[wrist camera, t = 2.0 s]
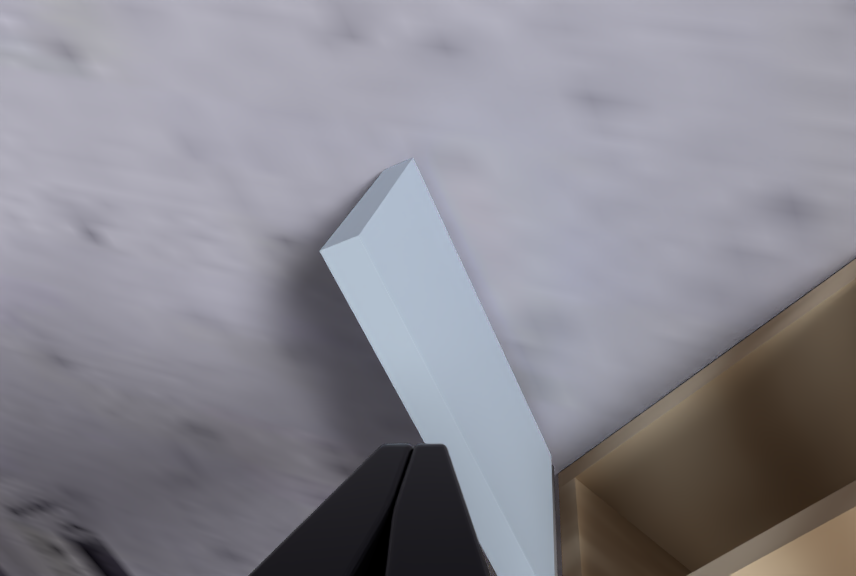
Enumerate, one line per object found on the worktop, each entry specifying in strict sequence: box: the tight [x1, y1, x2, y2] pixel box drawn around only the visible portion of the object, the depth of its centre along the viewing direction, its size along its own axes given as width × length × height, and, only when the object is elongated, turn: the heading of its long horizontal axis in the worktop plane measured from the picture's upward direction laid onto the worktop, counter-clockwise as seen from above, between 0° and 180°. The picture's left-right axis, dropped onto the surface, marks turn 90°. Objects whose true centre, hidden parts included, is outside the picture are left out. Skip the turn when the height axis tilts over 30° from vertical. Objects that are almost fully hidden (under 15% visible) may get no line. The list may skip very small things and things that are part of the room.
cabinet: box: [558, 259, 856, 576], centre depth 19 cm, size 14×8×8 cm, turn 140°
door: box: [320, 158, 558, 576], centre depth 19 cm, size 13×2×7 cm, turn 25°
